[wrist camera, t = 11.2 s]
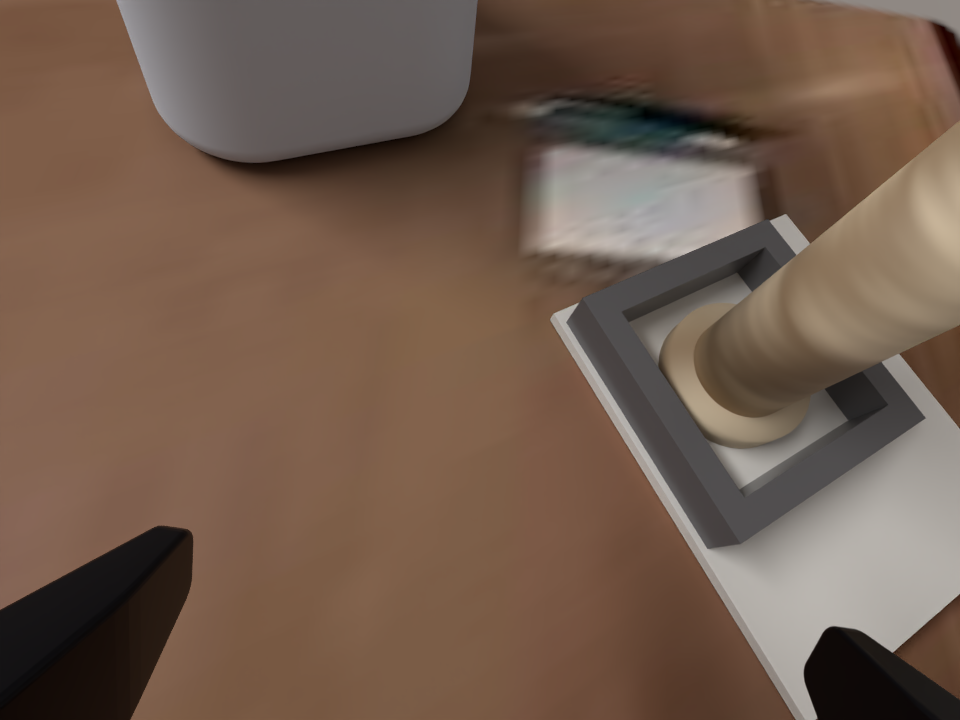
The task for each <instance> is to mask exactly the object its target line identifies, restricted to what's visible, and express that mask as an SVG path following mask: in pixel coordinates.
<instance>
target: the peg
mask: <svg viewBox="0 0 960 720" xmlns="http://www.w3.org/2000/svg"><path fill="white" fill-rule="evenodd" d="M958 325H960V121H959V122H957V123H956V124H955V125H954V126H953V127H951V128H950V129H949V130H948V131H947V132H945V133H944V134H943V135H942V136H940V137H939V138H938V139H937V140H936V141H934V142H933V143H932V144H931V145H930V146H928V147H927V148H926V149H925V150H923V151H922V152H921V153H920V154H919V155H917V156H916V157H915V158H914V159H913V160H911V161H910V162H909V163H908V164H907V165H905V166H904V167H903V168H902V169H900V170H899V171H898V172H897V173H896V174H894V175H893V176H892V177H891V178H890V179H888V180H887V181H886V182H885V183H883V184H882V185H881V186H880V187H879V188H877V189H876V190H875V191H874V192H873V193H871V194H870V195H869V196H868V197H867V198H865V199H864V200H863V201H862V202H860V203H859V204H858V205H857V206H856V207H854V208H853V209H852V210H851V211H850V212H848V213H847V214H846V215H845V216H843V217H842V218H841V219H840V220H839V221H837V222H836V223H835V224H834V225H833V226H831V227H830V228H829V229H828V230H827V231H825V232H824V233H823V234H822V235H820V236H819V237H818V238H817V239H816V240H814V241H813V242H812V243H811V244H810V245H808V246H807V247H806V248H805V249H804V250H802V251H801V252H800V253H799V254H797V255H796V256H795V257H794V258H793V259H791V260H790V261H789V262H788V263H787V264H785V265H784V266H783V267H782V268H780V269H779V270H778V271H777V272H776V273H774V274H773V275H772V276H771V277H770V278H768V279H767V280H766V281H765V282H764V283H762V284H761V285H760V286H759V287H757V288H756V289H755V290H754V291H753V292H751V293H750V294H749V295H748V296H747V297H745V298H744V299H743V300H742V301H740V302H739V303H738V304H732V303H714V304H709V305H705V306H702V307H700V308H697V309H696V310H694V311H692V312H691V313H690V314H688V315H687V316H686V317H685V318H684V319H683V320H682V321H681V322H680V323H679V324H677V325H676V326H675V327H674V328H673V329H672V330H671V331H670V333H669V334H668V335H667V337H666V338H665V340H664V342H663V344H662V347H661V350H660V354H659V363H658V367H659V369H660V371H661V372H662V374H663V375H664V377H665V378H666V380H667V381H668V383H669V384H670V386H671V387H672V389H673V390H674V392H675V393H676V395H677V396H678V398H679V399H680V401H681V403H682V404H683V406H684V407H685V409H686V410H687V412H688V413H689V415H690V416H691V418H692V419H693V421H694V422H695V424H696V425H697V427H698V428H699V430H700V431H701V433H702V434H703V436H704V437H705V439H707V440H709V441H711V442H713V443H716V444H719V445H722V446H726V447H730V448H738V449H743V448H753V447H757V446H760V445H763V444H766V443H768V442H771V441H773V440H776V439H778V438H781V437H783V436H785V435H787V434H789V433H790V432H791V431H793V430H794V429H795V428H796V427H797V426H798V425H799V424H800V423H801V421H802V420H803V418H804V417H805V415H806V412H807V410H808V407H809V403H810V397H811V395H812V394H815V393H817V392H819V391H821V390H823V389H825V388H827V387H829V386H831V385H834V384H836V383H838V382H840V381H842V380H844V379H846V378H848V377H851V376H853V375H855V374H857V373H859V372H861V371H863V370H865V369H867V368H870V367H872V366H874V365H876V364H878V363H880V362H882V361H884V360H886V359H889V358H891V357H893V356H895V355H897V354H899V353H901V352H903V351H906V350H908V349H910V348H912V347H914V346H916V345H918V344H920V343H922V342H925V341H927V340H929V339H931V338H933V337H935V336H937V335H939V334H941V333H944V332H946V331H948V330H950V329H952V328H954V327H956V326H958Z"/></svg>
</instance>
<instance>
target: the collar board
mask: <svg viewBox="0 0 960 720" xmlns="http://www.w3.org/2000/svg"><path fill="white" fill-rule="evenodd" d="M808 245H810V243H809V242H808V241H807V239H806V238H805V237H804V236H803V234H802V233H801V232H800V231H799V229H798V228H797V227H796V226H795V225H794V223H793V222H792V221H791V220H790V218H789V217H788V216H787V215H786V214H785V215H783V216H780V217H778V218H776V219H773V220H771V221H769V220H768V219H767V220H764V221H762V222H760V223H757V224H755V225H753V226H750V227H748V228H746V229H743V230H741V231H739V232H736V233H734V234H732V235H729V236H727V237H725V238H722V239H720V240H718V241H715V242H713V243H711V244H708V245H706V246H703V247H701V248H699V249H696V250H694V251H692V252H689V253H687V254H685V255H682V256H680V257H678V258H675V259H673V260H671V261H668V262H666V263H664V264H661V265H659V266H657V267H654V268H652V269H650V270H647V271H645V272H642V273H640V274H638V275H635V276H633V277H631V278H628V279H626V280H624V281H621V282H619V283H617V284H614V285H612V286H610V287H607V288H605V289H603V290H600V291H598V292H596V293H593V294H591V295H589V296H586V297H584V298H582V300H581V301H580V302H579V303H577V304H575V305H573V306H570V307H568V308H566V309H563V310H561V311H559V312H556V313H554V314H553V316H552V317H551V319H550V321H551V322H552V324H553V326H554V327H555V329H556V330H557V332H558V334H559V335H560V337H561V339H562V340H563V342H564V344H565V345H566V347H567V348H568V350H569V352H570V353H571V355H572V357H573V358H574V360H575V361H576V363H577V365H578V366H579V368H580V370H581V371H582V373H583V374H584V376H585V378H586V379H587V381H588V383H589V384H590V386H591V387H592V389H593V391H594V392H595V394H596V396H597V397H598V399H599V400H600V402H601V404H602V405H603V407H604V409H605V410H606V412H607V413H608V415H609V417H610V418H611V420H612V422H613V423H614V425H615V426H616V428H617V430H618V431H619V433H620V435H621V436H622V438H623V439H624V441H625V443H626V444H627V446H628V448H629V449H630V451H631V453H632V454H633V456H634V457H635V459H636V461H637V462H638V464H639V466H640V467H641V469H642V470H643V472H644V474H645V475H646V477H647V479H648V480H649V482H650V483H651V485H652V487H653V488H654V490H655V492H656V493H657V495H658V496H659V498H660V500H661V501H662V503H663V505H664V506H665V508H666V509H667V511H668V513H669V514H670V516H671V518H672V519H673V521H674V522H675V524H676V526H677V527H678V529H679V531H680V532H681V534H682V535H683V537H684V539H685V540H686V542H687V544H688V545H689V547H690V549H691V550H692V552H693V553H694V555H695V557H696V558H697V560H698V562H699V563H700V565H701V566H702V568H703V570H704V571H705V573H706V575H707V576H708V578H709V579H710V581H711V583H712V584H713V586H714V588H715V589H716V591H717V592H718V594H719V596H720V597H721V599H722V601H723V602H724V604H725V605H726V607H727V609H728V610H729V612H730V614H731V615H732V617H733V618H734V620H735V622H736V623H737V625H738V627H739V628H740V630H741V631H742V633H743V635H744V636H745V638H746V640H747V641H748V643H749V644H750V646H751V648H752V649H753V651H754V653H755V654H756V656H757V658H758V659H759V661H760V662H761V664H762V666H763V667H764V669H765V671H766V672H767V674H768V675H769V677H770V679H771V680H772V682H773V684H774V685H775V687H776V688H777V690H778V692H779V693H780V695H781V697H782V698H783V700H784V701H785V703H786V705H787V706H788V708H789V710H790V711H791V713H792V714H793V716H794V718H795V719H796V720H816V719H817V715H816V713H815V710H814V707H813V704H812V702H811V699H810V696H809V694H808V691H807V688H806V685H805V682H804V666H805V663H806V661H807V660H808V658H809V656H810V654H811V653H812V651H813V649H814V647H815V645H816V644H817V642H818V640H819V638H820V637H821V635H822V633H823V632H824V630H825V629H827V628H828V627H830V626H839V627H846V628H853V629H857V630H859V631H862V632H863V633H865V634H867V635H868V636H869V637H871V638H872V639H874V640H875V641H877V642H878V643H879V644H881V645H882V646H884V647H885V648H887V649H888V650H889V651H891V652H892V653H893V652H894V651H895V650H896V649H897V648H898V647H900V646H901V645H902V644H903V643H904V642H905V641H906V640H908V639H909V638H910V637H911V636H912V635H913V634H914V633H916V632H917V631H918V630H919V629H920V628H921V627H922V626H924V625H925V624H926V623H927V622H928V621H929V620H930V619H932V618H933V617H934V616H935V615H936V614H937V613H938V612H940V611H941V610H942V609H943V608H944V607H945V606H946V605H948V604H949V603H950V602H951V601H952V600H953V599H954V598H956V597H957V596H958V595H959V594H960V429H959V427H958V426H957V425H956V424H955V422H954V421H953V420H952V419H951V417H950V416H949V415H948V414H947V412H946V411H945V410H944V409H943V407H942V406H941V405H940V404H939V403H938V401H937V400H936V399H935V398H934V396H933V395H932V394H931V393H930V391H929V390H928V389H927V388H926V386H925V385H924V384H923V383H922V382H921V380H920V379H919V378H918V377H917V375H916V374H915V373H914V372H913V370H912V369H911V368H910V367H909V365H908V364H907V363H906V362H905V361H904V359H903V358H902V357H901V356H900V354H897V355H895V356H893V357H891V358H889V359H886V360H884V361H882V362H880V363H878V364H876V365H874V366H872V367H870V368H867V369H865V370H863V371H861V372H859V373H857V374H855V375H853V376H851V377H848V378H846V379H844V380H842V381H840V382H838V383H836V384H834V385H831V386H829V387H827V388H825V389H823V390H821V391H819V392H817V393H815V394H812V395H811V397H810V403H809V407H808V410H807V412H806V415H805V417H804V418H803V420H802V421H801V423H800V424H799V425H798V426H797V427H796V428H795V429H794V430H793V431H791V432H790V433H789V434H787V435H785V436H783V437H781V438H778V439H776V440H773V441H771V442H768V443H766V444H763V445H760V446H757V447H753V448H743V449H738V448H730V447H726V446H722V445H719V444H716V443H713V442H711V441H709V440H707V439H705V437H704V436H703V434H702V433H701V431H700V430H699V428H698V427H697V425H696V424H695V422H694V421H693V419H692V418H691V416H690V415H689V413H688V412H687V410H686V409H685V407H684V406H683V404H682V403H681V401H680V399H679V398H678V396H677V395H676V393H675V392H674V390H673V389H672V387H671V386H670V384H669V383H668V381H667V380H666V378H665V377H664V375H663V374H662V372H661V371H660V369H659V367H658V363H659V354H660V350H661V347H662V344H663V342H664V340H665V338H666V337H667V335H668V334H669V333H670V331H671V330H672V329H673V328H674V327H675V326H676V325H677V324H679V323H680V322H681V321H682V320H683V319H684V318H685V317H686V316H687V315H688V314H690V313H691V312H692V311H694V310H696V309H697V308H700V307H702V306H705V305H709V304H714V303H732V304H738V303H739V302H740V301H742V300H743V299H744V298H745V297H747V296H748V295H749V294H750V293H751V292H753V291H754V290H755V289H756V288H757V287H759V286H760V285H761V284H762V283H764V282H765V281H766V280H767V279H768V278H770V277H771V276H772V275H773V274H774V273H776V272H777V271H778V270H779V269H780V268H782V267H783V266H784V265H785V264H787V263H788V262H789V261H790V260H791V259H793V258H794V257H795V256H796V255H797V254H799V253H800V252H801V251H802V250H804V249H805V248H806V247H807V246H808Z"/></svg>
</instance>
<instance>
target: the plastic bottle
mask: <svg viewBox="0 0 960 720" xmlns="http://www.w3.org/2000/svg"><path fill="white" fill-rule="evenodd" d="M477 1H478V0H117V3H118V6H119V9H120V11H121V14H122V17H123V20H124V22H125V25H126V28H127V31H128V34H129V36H130V39H131V42H132V45H133V47H134V50H135V53H136V56H137V58H138V61H139V64H140V67H141V69H142V72H143V75H144V78H145V81H146V83H147V86H148V89H149V92H150V94H151V97H152V100H153V102H154V105H155V107H156V109H157V110H158V112H159V114H160V115H161V117H162V118H163V120H164V121H165V122H166V123H167V124H168V126H169V127H170V128H171V129H172V130H173V131H174V132H175V133H176V134H177V135H178V136H180V137H181V138H182V139H184V140H185V141H186V142H188V143H189V144H191V145H192V146H194V147H195V148H197V149H199V150H201V151H203V152H205V153H208V154H210V155H213V156H216V157H220V158H223V159H227V160H231V161H237V162H246V163H263V162H272V161H278V160H284V159H289V158H295V157H300V156H305V155H311V154H316V153H322V152H327V151H333V150H338V149H344V148H349V147H355V146H360V145H366V144H371V143H377V142H382V141H388V140H393V139H399V138H404V137H410V136H414V135H419V134H422V133H425V132H427V131H430V130H432V129H434V128H436V127H438V126H440V125H441V124H443V123H444V122H446V121H447V120H448V119H449V118H450V117H451V116H452V115H453V114H454V113H455V112H456V111H457V110H458V108H459V107H460V105H461V104H462V102H463V100H464V98H465V96H466V93H467V91H468V87H469V83H470V75H471V65H472V54H473V44H474V33H475V23H476V12H477Z"/></svg>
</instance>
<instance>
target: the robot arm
mask: <svg viewBox="0 0 960 720" xmlns="http://www.w3.org/2000/svg"><path fill="white" fill-rule="evenodd" d="M192 563H193V535H192V533H191V532H190V531H189V530H188V529H183V528H176V527H170V526H157V527H154V528H152V529H150V530H148V531H146V532H144V533H143V534H141V535H139V536H137V537H135V538H133V539H131V540H129V541H128V542H126V543H124V544H122V545H120V546H118V547H116V548H115V549H113V550H111V551H109V552H107V553H105V554H103V555H102V556H100V557H98V558H96V559H94V560H92V561H90V562H89V563H87V564H85V565H83V566H81V567H79V568H77V569H75V570H74V571H72V572H70V573H68V574H66V575H64V576H62V577H61V578H59V579H57V580H55V581H53V582H51V583H49V584H48V585H46V586H44V587H42V588H40V589H38V590H36V591H35V592H33V593H31V594H29V595H27V596H25V597H23V598H21V599H20V600H18V601H16V602H14V603H12V604H10V605H8V606H7V607H5V608H3V609H1V610H0V720H130V719H131V717H132V715H133V713H134V711H135V709H136V707H137V705H138V703H139V701H140V699H141V696H142V694H143V692H144V690H145V688H146V686H147V683H148V681H149V679H150V677H151V675H152V673H153V670H154V668H155V666H156V664H157V662H158V659H159V657H160V655H161V653H162V651H163V649H164V646H165V644H166V642H167V640H168V638H169V636H170V633H171V631H172V629H173V627H174V625H175V623H176V620H177V618H178V616H179V614H180V612H181V610H182V607H183V605H184V603H185V601H186V599H187V596H188V593H189V590H190V587H191V582H192ZM804 682H805V685H806V688H807V691H808V694H809V696H810V699H811V702H812V704H813V707H814V710H815V713H816V715H817V718H818V720H960V700H959V699H958V698H956V697H955V696H953V695H952V694H951V693H949V692H948V691H946V690H945V689H943V688H942V687H941V686H939V685H938V684H936V683H935V682H933V681H932V680H931V679H929V678H928V677H926V676H925V675H924V674H922V673H921V672H919V671H918V670H916V669H915V668H914V667H912V666H911V665H909V664H908V663H906V662H905V661H904V660H902V659H901V658H899V657H898V656H896V655H895V654H894V653H892V652H891V651H889V650H888V649H887V648H885V647H884V646H882V645H881V644H879V643H878V642H877V641H875V640H874V639H872V638H871V637H869V636H868V635H867V634H865V633H863V632H862V631H859V630H857V629H853V628H846V627H839V626H830V627H828V628H827V629H825V630H824V632H823V633H822V635H821V637H820V638H819V640H818V642H817V644H816V645H815V647H814V649H813V651H812V653H811V654H810V656H809V658H808V660H807V661H806V663H805V666H804Z"/></svg>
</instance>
